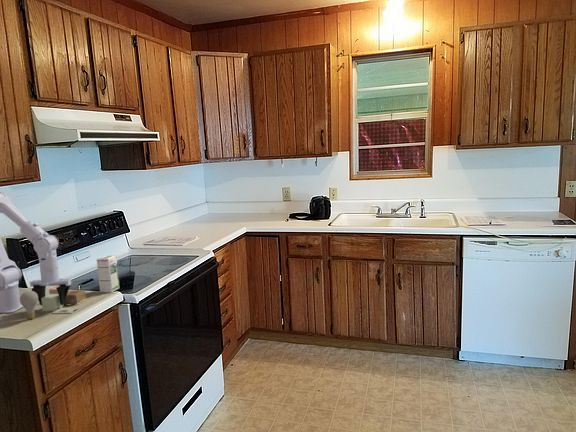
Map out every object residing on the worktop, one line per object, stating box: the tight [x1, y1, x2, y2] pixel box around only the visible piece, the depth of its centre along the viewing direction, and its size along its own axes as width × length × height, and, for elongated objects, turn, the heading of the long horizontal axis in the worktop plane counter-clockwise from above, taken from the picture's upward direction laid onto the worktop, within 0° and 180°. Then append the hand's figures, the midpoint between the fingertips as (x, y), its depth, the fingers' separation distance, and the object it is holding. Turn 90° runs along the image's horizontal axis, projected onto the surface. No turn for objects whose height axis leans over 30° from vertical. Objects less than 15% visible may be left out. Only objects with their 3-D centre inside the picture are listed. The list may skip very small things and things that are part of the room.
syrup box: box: [96, 255, 120, 293], centre depth 176 cm, size 6×6×14 cm
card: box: [51, 307, 75, 315], centre depth 153 cm, size 7×5×1 cm
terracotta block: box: [48, 285, 70, 294], centre depth 167 cm, size 5×5×5 cm
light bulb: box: [19, 290, 39, 320], centre depth 145 cm, size 6×6×10 cm
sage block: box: [41, 293, 65, 312], centre depth 156 cm, size 5×5×5 cm
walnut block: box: [64, 290, 87, 306], centre depth 163 cm, size 6×6×4 cm
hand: (53, 304), depth 156 cm, fingers open, 7 cm apart
